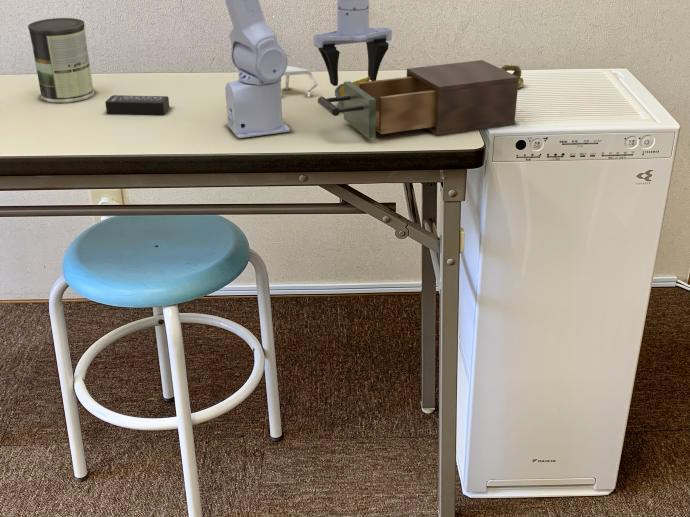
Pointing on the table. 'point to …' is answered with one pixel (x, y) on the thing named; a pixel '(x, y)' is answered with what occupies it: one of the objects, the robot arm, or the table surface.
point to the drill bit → (340, 91)
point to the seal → (515, 73)
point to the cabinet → (470, 95)
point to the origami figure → (298, 71)
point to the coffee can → (61, 59)
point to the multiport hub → (137, 105)
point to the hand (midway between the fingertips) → (353, 82)
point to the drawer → (386, 105)
